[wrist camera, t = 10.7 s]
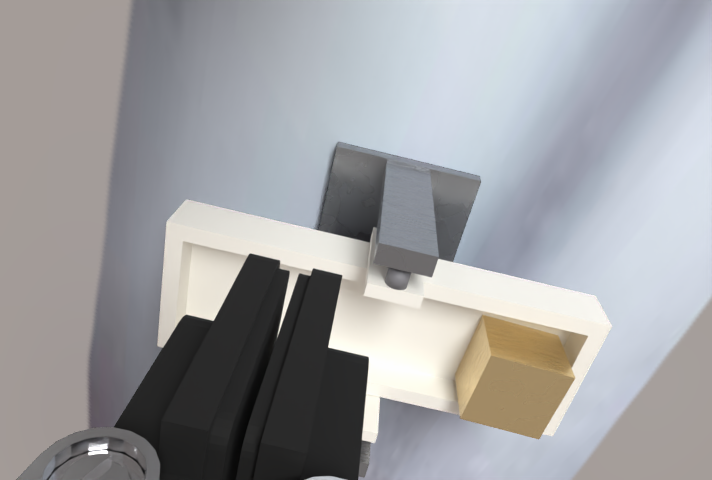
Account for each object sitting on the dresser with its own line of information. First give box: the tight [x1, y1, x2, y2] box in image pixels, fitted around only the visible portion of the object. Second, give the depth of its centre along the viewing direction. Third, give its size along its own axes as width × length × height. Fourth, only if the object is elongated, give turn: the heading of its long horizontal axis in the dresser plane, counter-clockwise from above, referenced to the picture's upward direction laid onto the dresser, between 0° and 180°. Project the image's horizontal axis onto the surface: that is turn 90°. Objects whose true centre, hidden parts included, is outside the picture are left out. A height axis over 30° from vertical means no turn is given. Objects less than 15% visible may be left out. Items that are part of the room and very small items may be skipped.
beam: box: [157, 199, 612, 443], centre depth 35 cm, size 13×26×9 cm, turn 77°
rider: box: [455, 315, 575, 439], centre depth 35 cm, size 5×5×4 cm
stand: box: [319, 142, 481, 477], centre depth 37 cm, size 16×10×13 cm, turn 167°
